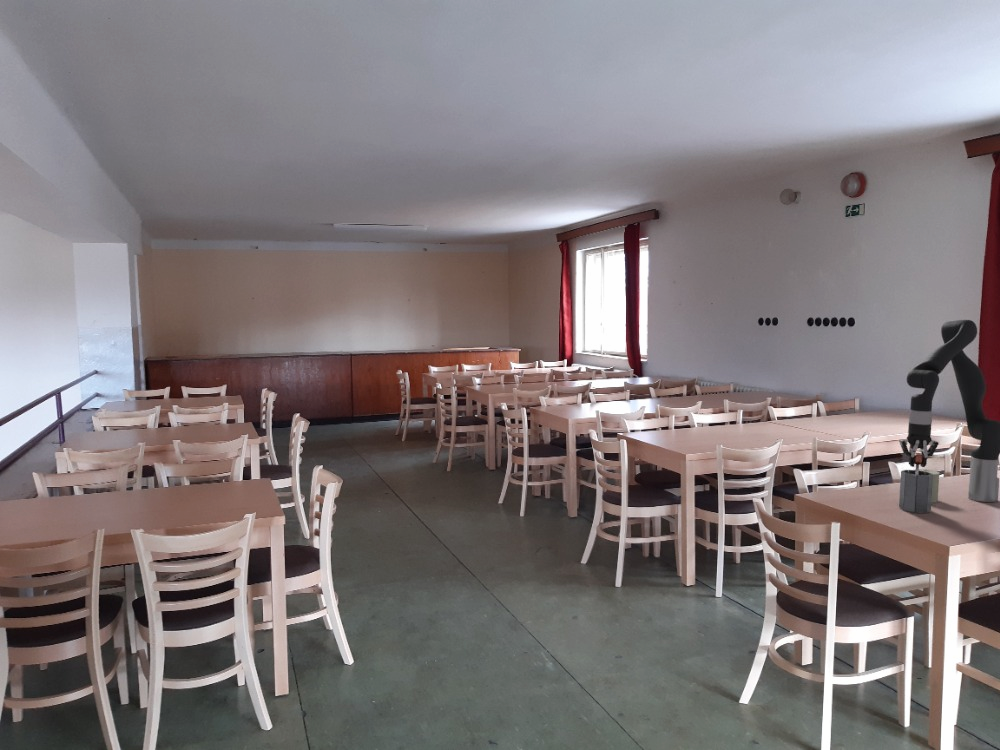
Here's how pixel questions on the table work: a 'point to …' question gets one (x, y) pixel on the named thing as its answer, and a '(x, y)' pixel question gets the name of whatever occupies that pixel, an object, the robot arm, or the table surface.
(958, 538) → the table surface
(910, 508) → the grey faceted pot
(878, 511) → the table surface
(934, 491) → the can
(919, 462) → the plunger
